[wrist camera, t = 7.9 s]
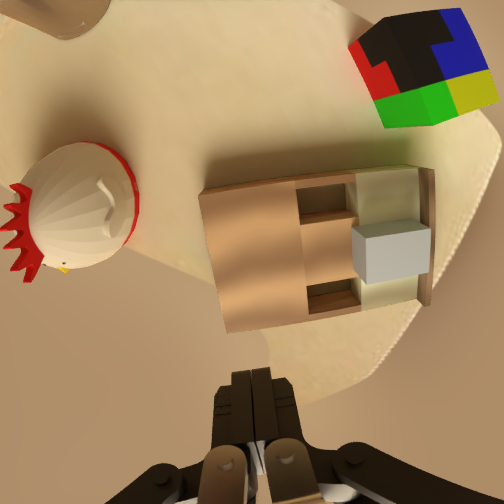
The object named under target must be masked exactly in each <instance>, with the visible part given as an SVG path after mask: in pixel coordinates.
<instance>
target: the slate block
mask: <svg viewBox="0 0 504 504" xmlns="http://www.w3.org/2000/svg"><path fill="white" fill-rule="evenodd" d="M351 231H352V252H353V270H354V271H355V272H356V273H357V274H358V275H359V277H360V278H361V279H362V280H363V282H364V283H365V284H366V285H369V284H375V283H380V282H385V281H390V280H395V279H400V278H405V277H409V276H414V275H419V274H424V273H428V272H429V265H430V246H431V228H429V227H427V226H425V225H423V224H421V223H419V222H417V221H415V220H413V219H405V220H398V221H391V222H383V223H376V224H369V225H362V226H355V227H351Z"/></svg>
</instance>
